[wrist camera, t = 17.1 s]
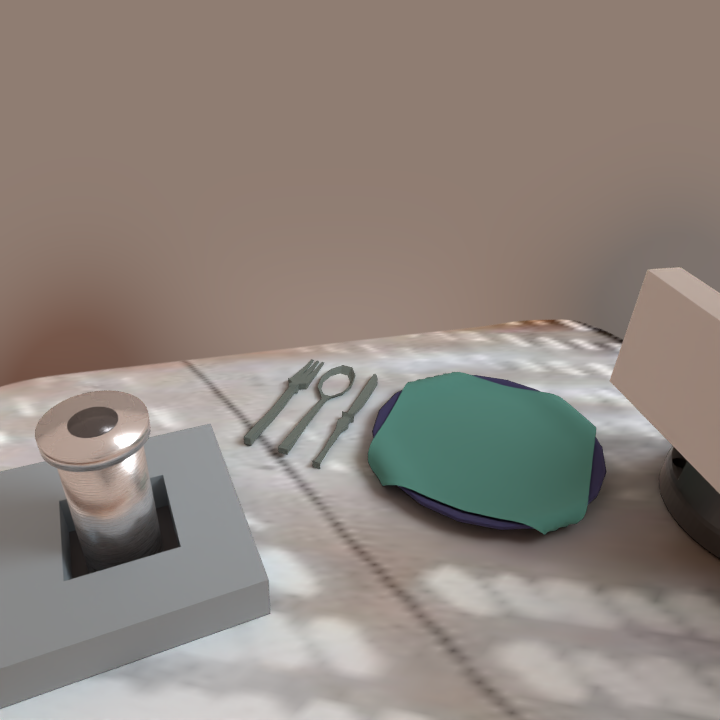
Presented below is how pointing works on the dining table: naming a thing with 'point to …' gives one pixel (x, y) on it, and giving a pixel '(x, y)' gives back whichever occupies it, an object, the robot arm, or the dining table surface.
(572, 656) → the dining table surface
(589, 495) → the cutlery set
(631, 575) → the dining table surface
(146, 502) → the bushing
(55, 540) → the jig
